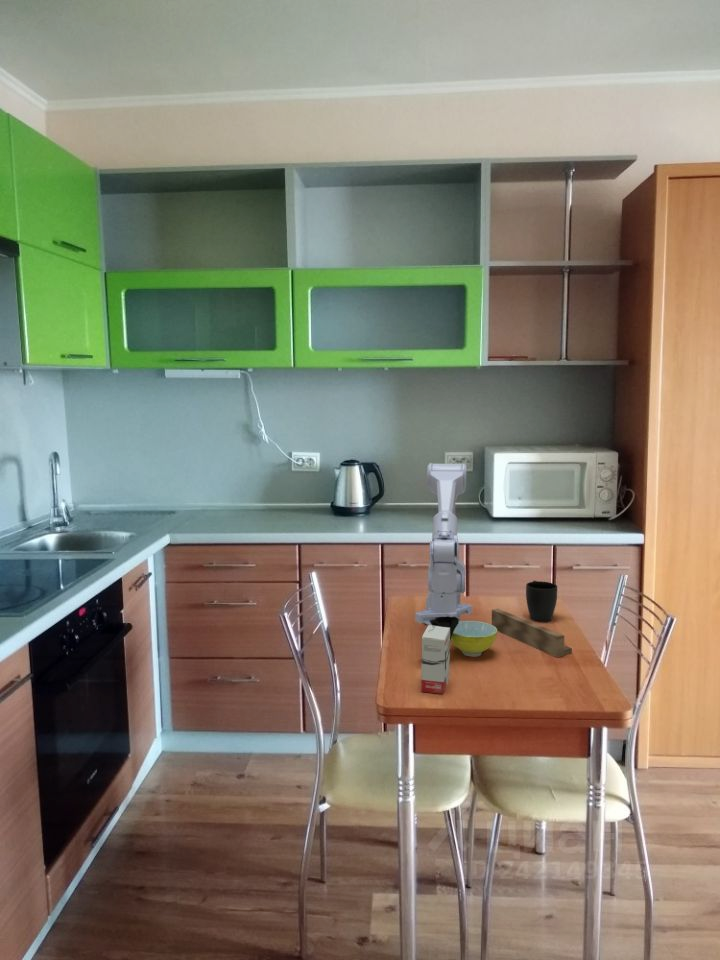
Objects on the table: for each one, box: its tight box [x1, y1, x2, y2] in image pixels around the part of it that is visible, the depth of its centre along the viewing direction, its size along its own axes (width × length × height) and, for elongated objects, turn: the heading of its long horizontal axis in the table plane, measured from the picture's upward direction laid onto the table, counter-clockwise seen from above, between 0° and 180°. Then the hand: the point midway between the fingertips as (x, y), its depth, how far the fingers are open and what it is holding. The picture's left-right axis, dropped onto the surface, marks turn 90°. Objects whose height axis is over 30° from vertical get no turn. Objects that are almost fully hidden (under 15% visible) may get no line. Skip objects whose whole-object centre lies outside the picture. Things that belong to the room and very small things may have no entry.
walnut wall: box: [491, 608, 573, 659], centre depth 173 cm, size 24×5×5 cm, turn 28°
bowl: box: [450, 620, 498, 658], centre depth 165 cm, size 11×12×6 cm
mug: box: [525, 580, 558, 623], centre depth 191 cm, size 8×12×10 cm
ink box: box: [420, 625, 451, 695], centre depth 146 cm, size 8×5×12 cm, turn 165°
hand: (443, 647), depth 161 cm, fingers closed
